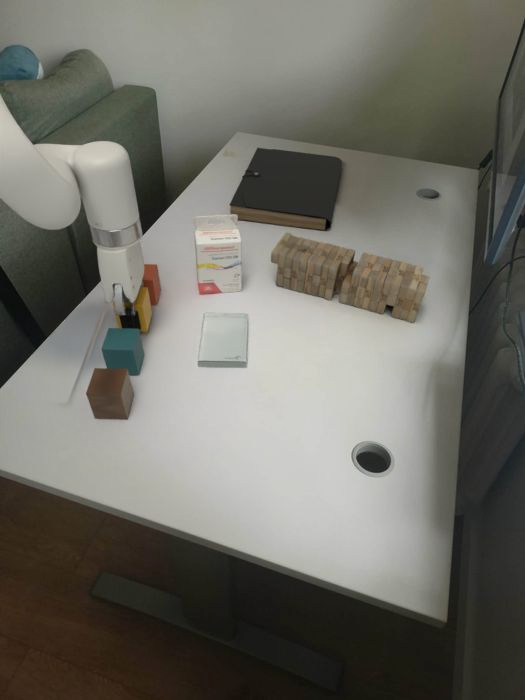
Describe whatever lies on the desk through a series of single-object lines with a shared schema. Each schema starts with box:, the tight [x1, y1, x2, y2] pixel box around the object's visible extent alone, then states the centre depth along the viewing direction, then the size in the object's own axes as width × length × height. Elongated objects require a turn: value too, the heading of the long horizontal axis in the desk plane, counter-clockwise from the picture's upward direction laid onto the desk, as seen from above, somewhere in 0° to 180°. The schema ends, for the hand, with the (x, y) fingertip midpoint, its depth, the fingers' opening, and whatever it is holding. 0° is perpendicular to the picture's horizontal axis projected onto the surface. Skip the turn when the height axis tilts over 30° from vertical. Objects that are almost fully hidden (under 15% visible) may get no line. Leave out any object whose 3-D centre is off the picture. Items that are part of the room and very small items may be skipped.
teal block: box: [100, 327, 145, 376], centre depth 81 cm, size 5×5×6 cm
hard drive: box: [197, 312, 249, 369], centre depth 87 cm, size 2×8×12 cm
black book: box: [229, 147, 343, 232], centre depth 126 cm, size 33×4×24 cm
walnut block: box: [85, 367, 135, 420], centre depth 75 cm, size 5×5×6 cm
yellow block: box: [112, 287, 153, 333], centre depth 86 cm, size 5×5×6 cm
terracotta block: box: [142, 263, 162, 306], centre depth 94 cm, size 5×5×6 cm
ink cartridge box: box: [193, 214, 243, 295], centre depth 94 cm, size 9×5×15 cm, turn 100°
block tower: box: [270, 232, 430, 324], centre depth 96 cm, size 8×8×29 cm
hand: (135, 317), depth 88 cm, fingers closed on yellow block, 5 cm apart
